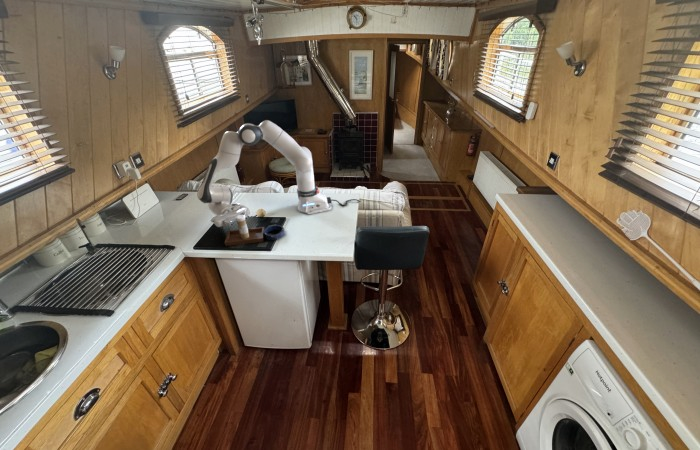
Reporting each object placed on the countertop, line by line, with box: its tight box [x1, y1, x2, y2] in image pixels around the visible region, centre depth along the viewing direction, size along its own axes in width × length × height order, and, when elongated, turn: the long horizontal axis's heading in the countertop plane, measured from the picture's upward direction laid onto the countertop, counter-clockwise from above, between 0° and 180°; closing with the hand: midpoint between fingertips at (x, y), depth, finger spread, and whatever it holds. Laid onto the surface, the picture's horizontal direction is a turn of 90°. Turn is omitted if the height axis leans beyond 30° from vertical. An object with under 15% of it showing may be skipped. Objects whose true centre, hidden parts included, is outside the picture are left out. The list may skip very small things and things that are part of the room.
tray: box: [224, 226, 266, 247], centre depth 159 cm, size 20×12×2 cm, turn 100°
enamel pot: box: [264, 223, 285, 241], centre depth 162 cm, size 11×14×3 cm
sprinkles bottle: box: [235, 215, 249, 239], centre depth 156 cm, size 5×5×13 cm
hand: (238, 220), depth 156 cm, fingers open, 8 cm apart
